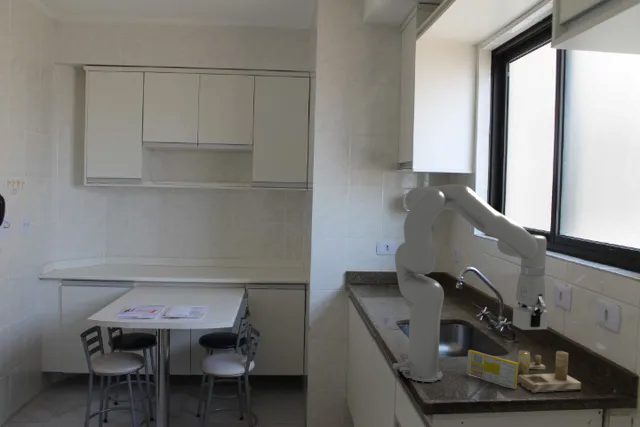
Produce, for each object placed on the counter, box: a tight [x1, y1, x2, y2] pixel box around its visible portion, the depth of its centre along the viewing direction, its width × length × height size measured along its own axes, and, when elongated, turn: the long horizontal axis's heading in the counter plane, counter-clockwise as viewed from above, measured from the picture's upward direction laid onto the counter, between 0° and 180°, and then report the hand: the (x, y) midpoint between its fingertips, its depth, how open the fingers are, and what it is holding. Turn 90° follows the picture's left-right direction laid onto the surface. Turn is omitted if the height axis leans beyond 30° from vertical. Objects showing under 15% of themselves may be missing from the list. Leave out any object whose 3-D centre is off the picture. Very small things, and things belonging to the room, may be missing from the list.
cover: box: [512, 306, 549, 331], centre depth 172 cm, size 9×6×6 cm, turn 100°
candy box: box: [466, 349, 518, 388], centre depth 159 cm, size 16×2×8 cm, turn 44°
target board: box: [517, 350, 582, 391], centre depth 156 cm, size 16×8×10 cm, turn 101°
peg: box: [517, 349, 531, 375], centre depth 165 cm, size 3×3×8 cm
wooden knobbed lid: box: [529, 354, 546, 370], centre depth 173 cm, size 7×4×4 cm, turn 101°
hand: (529, 323), depth 172 cm, fingers closed on cover, 6 cm apart
